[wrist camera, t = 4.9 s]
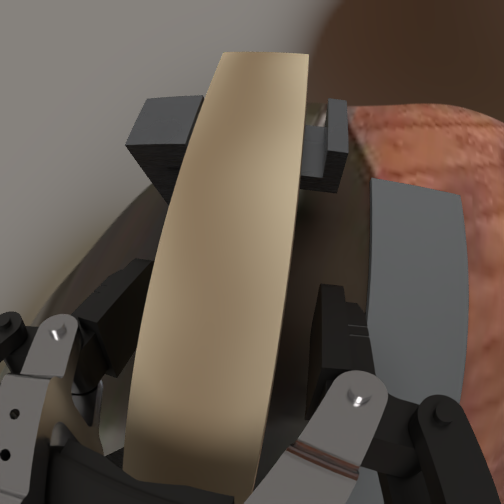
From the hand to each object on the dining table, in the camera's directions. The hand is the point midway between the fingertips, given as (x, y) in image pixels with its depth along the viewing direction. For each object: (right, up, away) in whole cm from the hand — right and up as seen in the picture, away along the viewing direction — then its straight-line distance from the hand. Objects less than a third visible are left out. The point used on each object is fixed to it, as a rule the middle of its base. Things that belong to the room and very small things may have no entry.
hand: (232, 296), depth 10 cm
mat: (+12, -5, +7) cm, 15 cm away
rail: (0, -2, +1) cm, 2 cm away
